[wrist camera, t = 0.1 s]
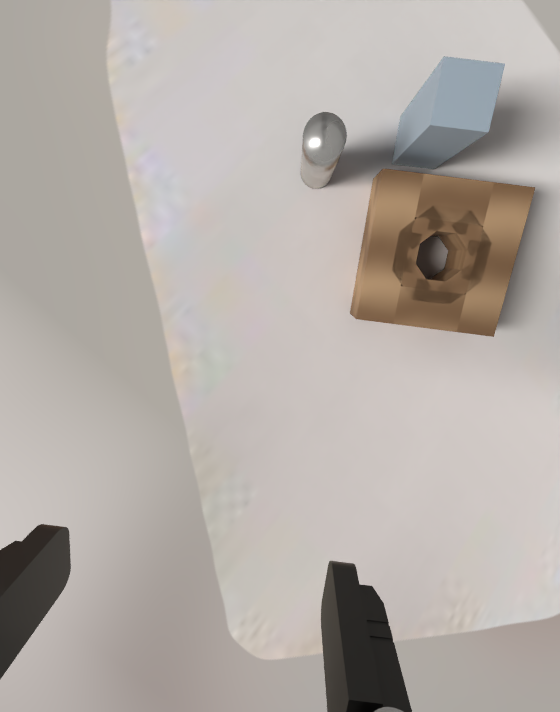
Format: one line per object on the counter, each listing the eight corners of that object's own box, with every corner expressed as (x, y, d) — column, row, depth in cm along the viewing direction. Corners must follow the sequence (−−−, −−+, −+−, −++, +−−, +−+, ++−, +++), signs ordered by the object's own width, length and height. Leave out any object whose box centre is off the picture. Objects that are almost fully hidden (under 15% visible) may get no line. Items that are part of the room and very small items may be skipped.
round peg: (302, 152, 34) (306, 109, 25) (334, 156, 34) (350, 114, 25) (298, 186, 35) (300, 157, 25) (329, 190, 35) (342, 163, 25)
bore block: (373, 178, 35) (383, 168, 31) (508, 195, 35) (535, 187, 31) (350, 313, 38) (356, 318, 34) (473, 329, 38) (493, 336, 34)
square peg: (400, 116, 33) (443, 56, 24) (443, 121, 33) (504, 63, 24) (391, 163, 34) (430, 124, 25) (433, 169, 34) (488, 132, 25)
